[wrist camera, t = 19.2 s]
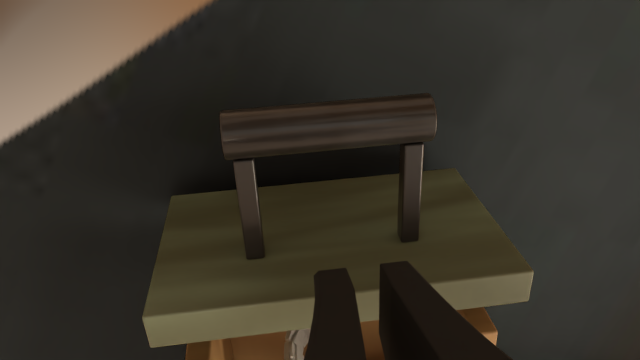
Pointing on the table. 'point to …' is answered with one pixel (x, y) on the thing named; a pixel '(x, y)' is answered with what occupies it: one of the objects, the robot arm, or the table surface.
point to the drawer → (322, 234)
